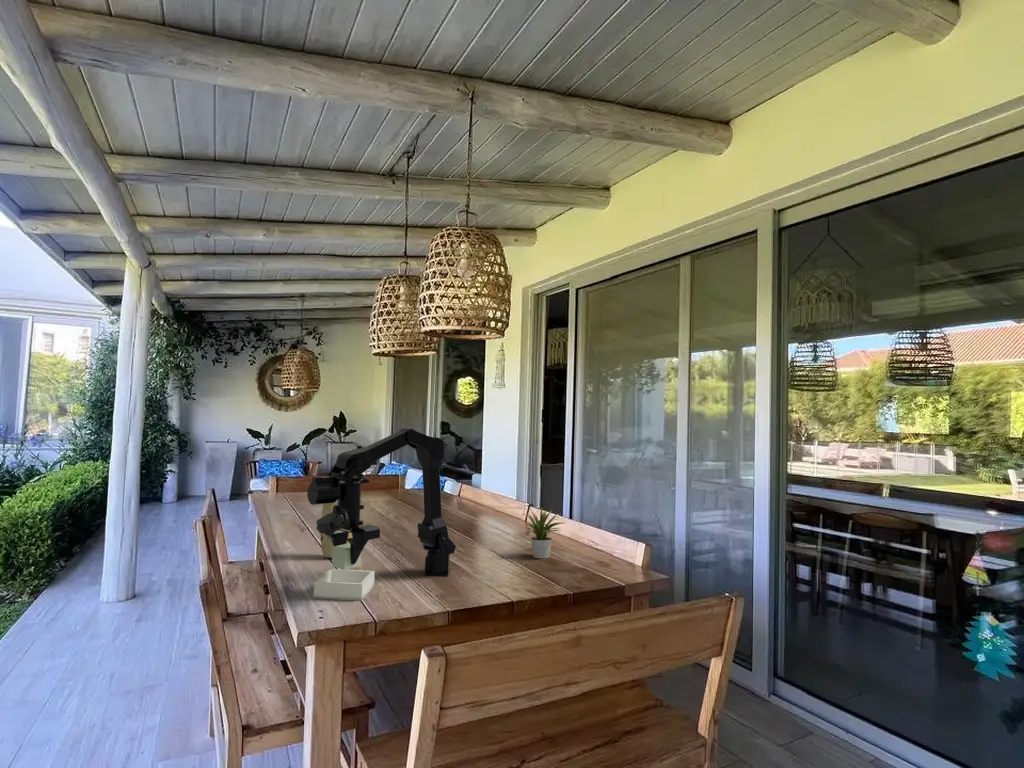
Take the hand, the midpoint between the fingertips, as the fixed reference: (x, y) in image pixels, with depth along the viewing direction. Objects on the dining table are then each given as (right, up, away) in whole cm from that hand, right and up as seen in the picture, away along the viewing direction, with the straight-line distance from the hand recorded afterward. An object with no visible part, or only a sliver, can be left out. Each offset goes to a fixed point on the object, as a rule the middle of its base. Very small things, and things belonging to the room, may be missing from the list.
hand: (346, 562), depth 154 cm
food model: (-13, -9, +33) cm, 36 cm away
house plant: (+51, -11, +41) cm, 67 cm away
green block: (0, -1, 0) cm, 1 cm away
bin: (0, -8, 0) cm, 8 cm away
